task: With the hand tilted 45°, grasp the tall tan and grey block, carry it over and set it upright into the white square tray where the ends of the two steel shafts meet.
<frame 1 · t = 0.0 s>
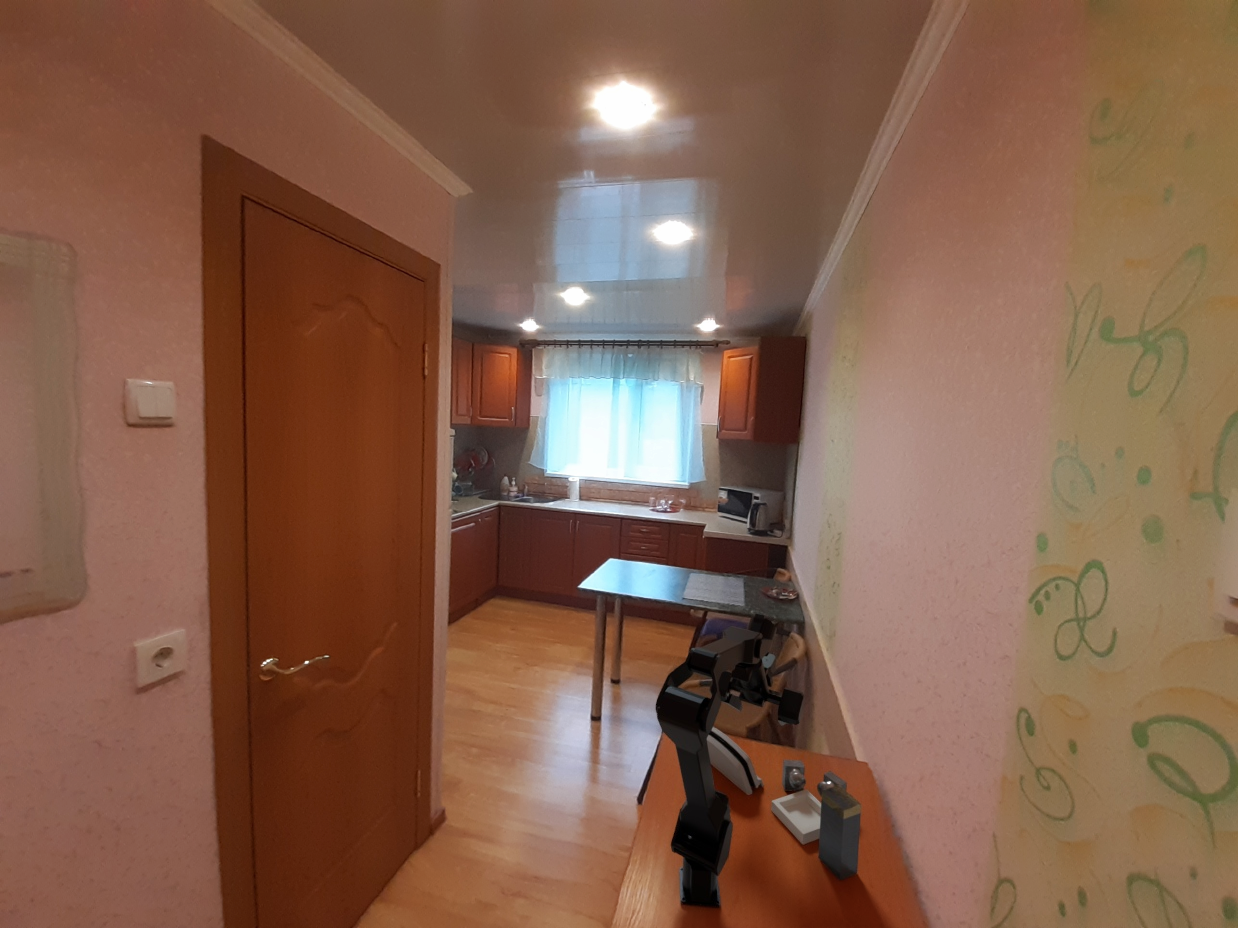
hand: (761, 716, 110), 15 cm above the table, tool tilted 35°, fingers open, 9 cm apart
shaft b: (793, 790, 109), on the table
white electronic device: (724, 771, 115), on the table
white square tray: (804, 820, 101), on the table
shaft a: (830, 805, 105), on the table
tan and grey block: (837, 865, 91), on the table
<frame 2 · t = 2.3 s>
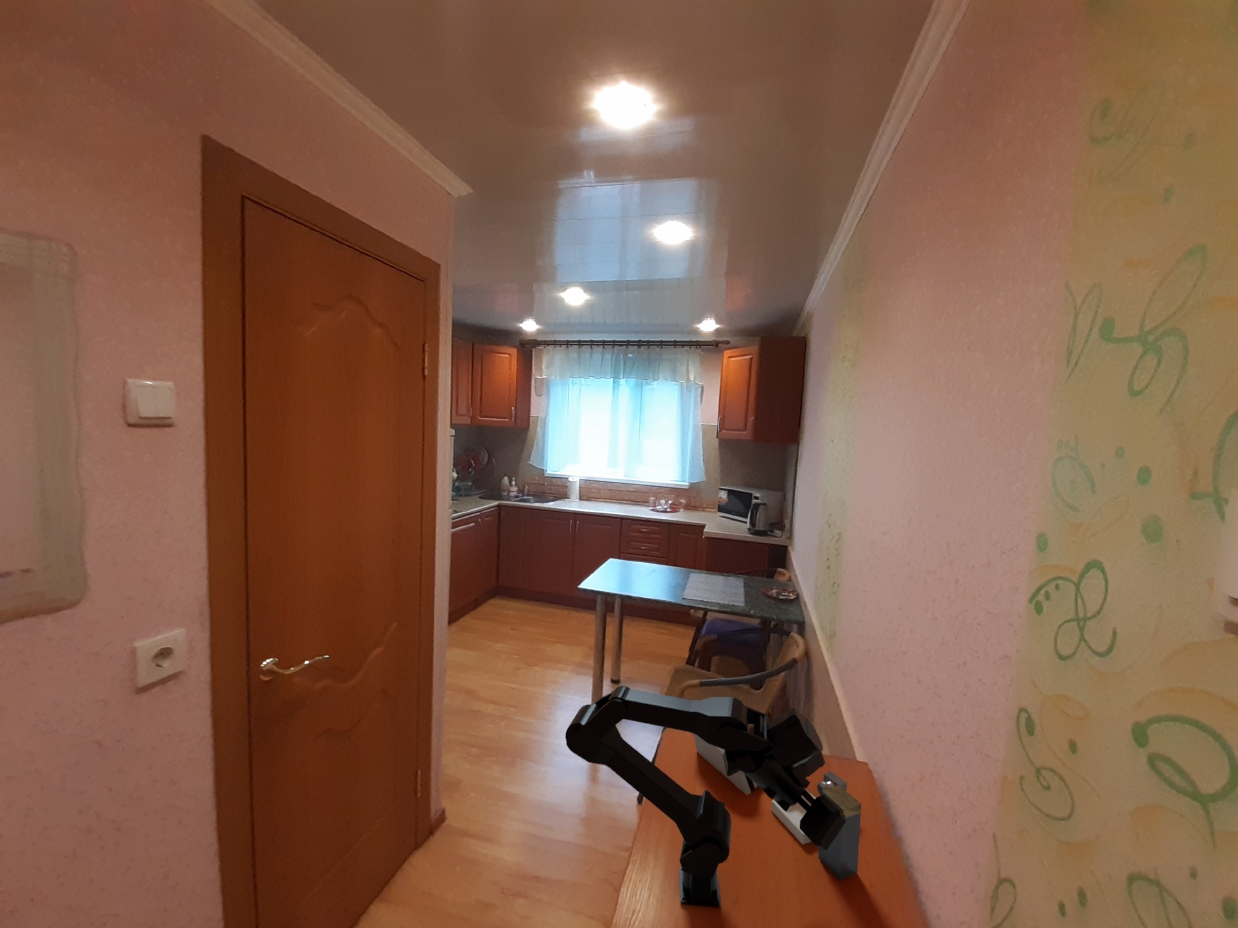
hand: (816, 813, 87), 12 cm above the table, tool tilted 45°, fingers open, 9 cm apart
nothing on the table moved.
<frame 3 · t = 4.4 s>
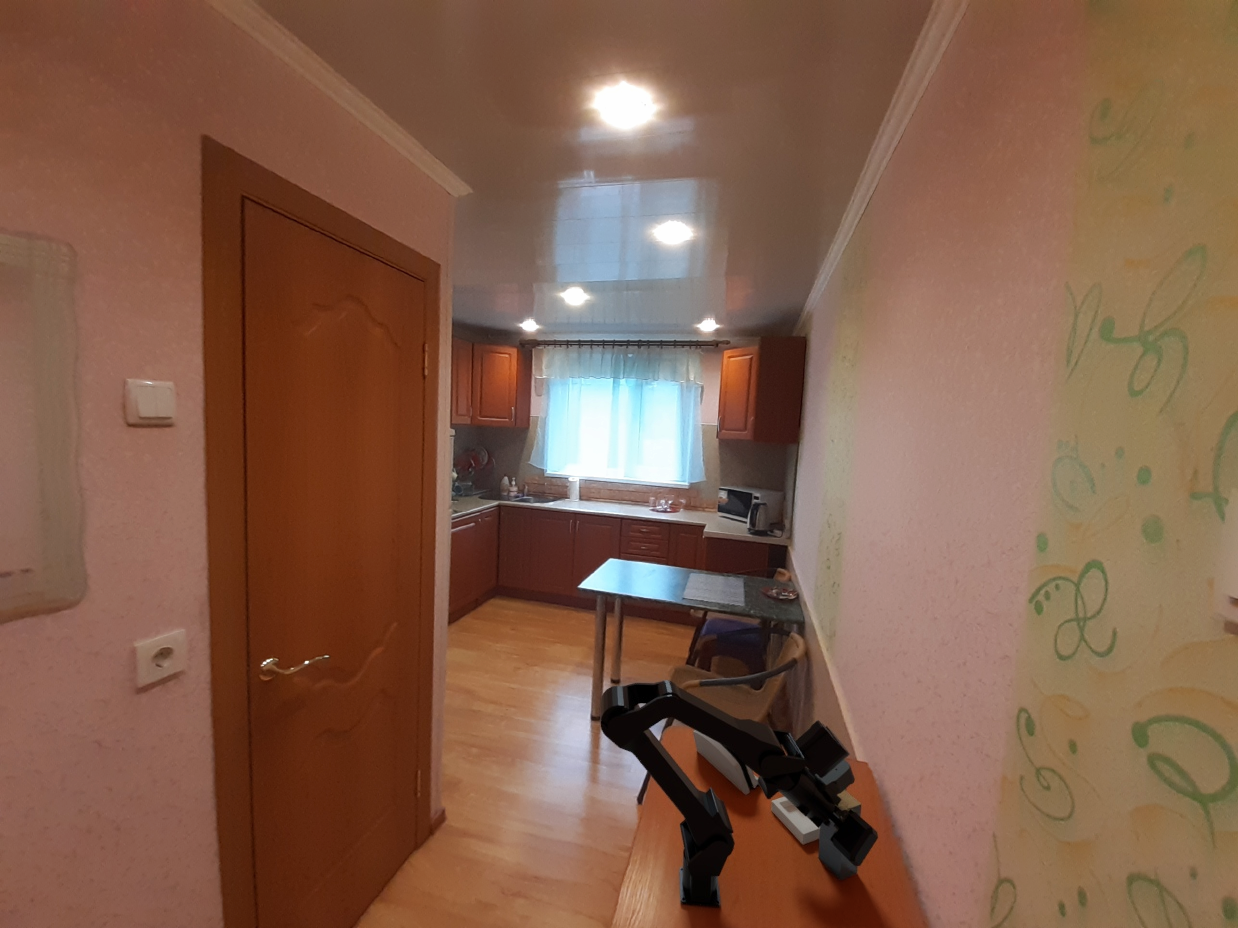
hand: (845, 828, 91), 7 cm above the table, tool tilted 45°, fingers closed on tan and grey block, 5 cm apart
tan and grey block: (837, 865, 91), on the table, touching gripper
everything else where it was.
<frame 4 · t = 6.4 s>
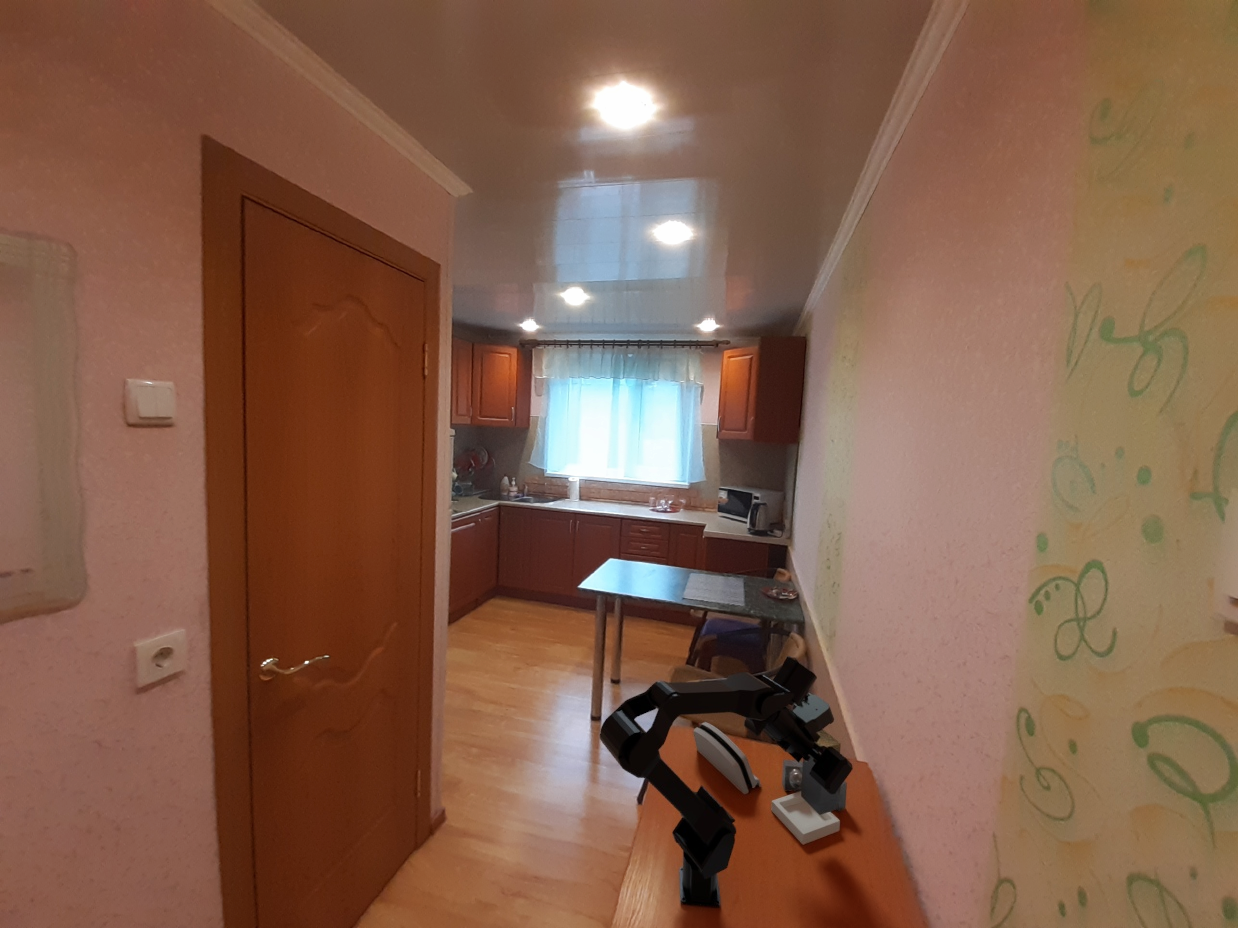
hand: (826, 767, 96), 14 cm above the table, tool tilted 45°, fingers closed on tan and grey block, 5 cm apart
tan and grey block: (818, 802, 96), point 7 cm above the table, touching gripper
everything else where it was.
when the fingers open (8 cm above the table, at t = 8.3 s): tan and grey block stays where it is, resting on white square tray.
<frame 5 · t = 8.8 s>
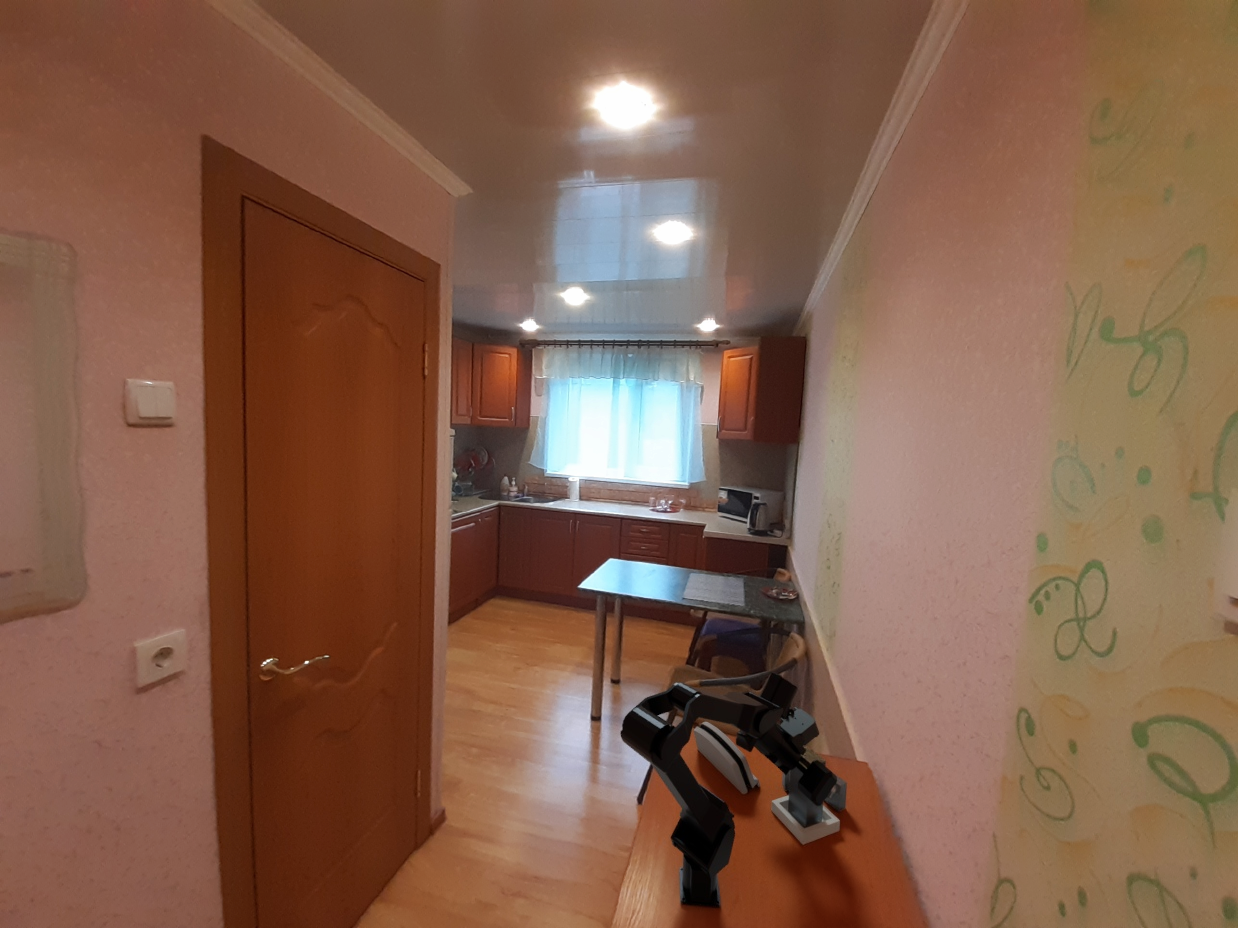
hand: (811, 778, 101), 8 cm above the table, tool tilted 45°, fingers open, 9 cm apart
tan and grey block: (804, 817, 101), point 1 cm above the table, touching white square tray
everything else where it was.
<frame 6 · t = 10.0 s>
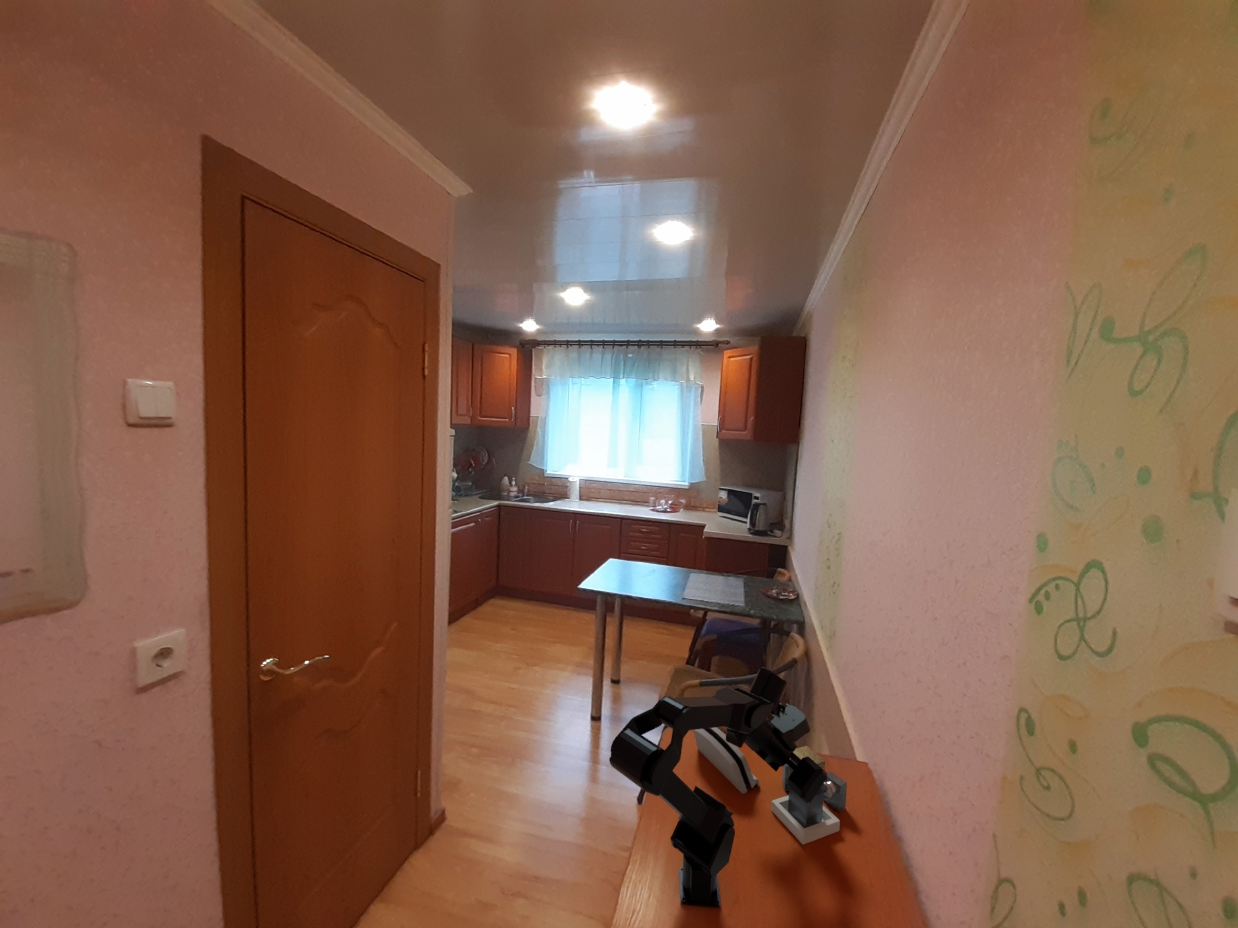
hand: (803, 775, 99), 10 cm above the table, tool tilted 45°, fingers open, 9 cm apart
nothing on the table moved.
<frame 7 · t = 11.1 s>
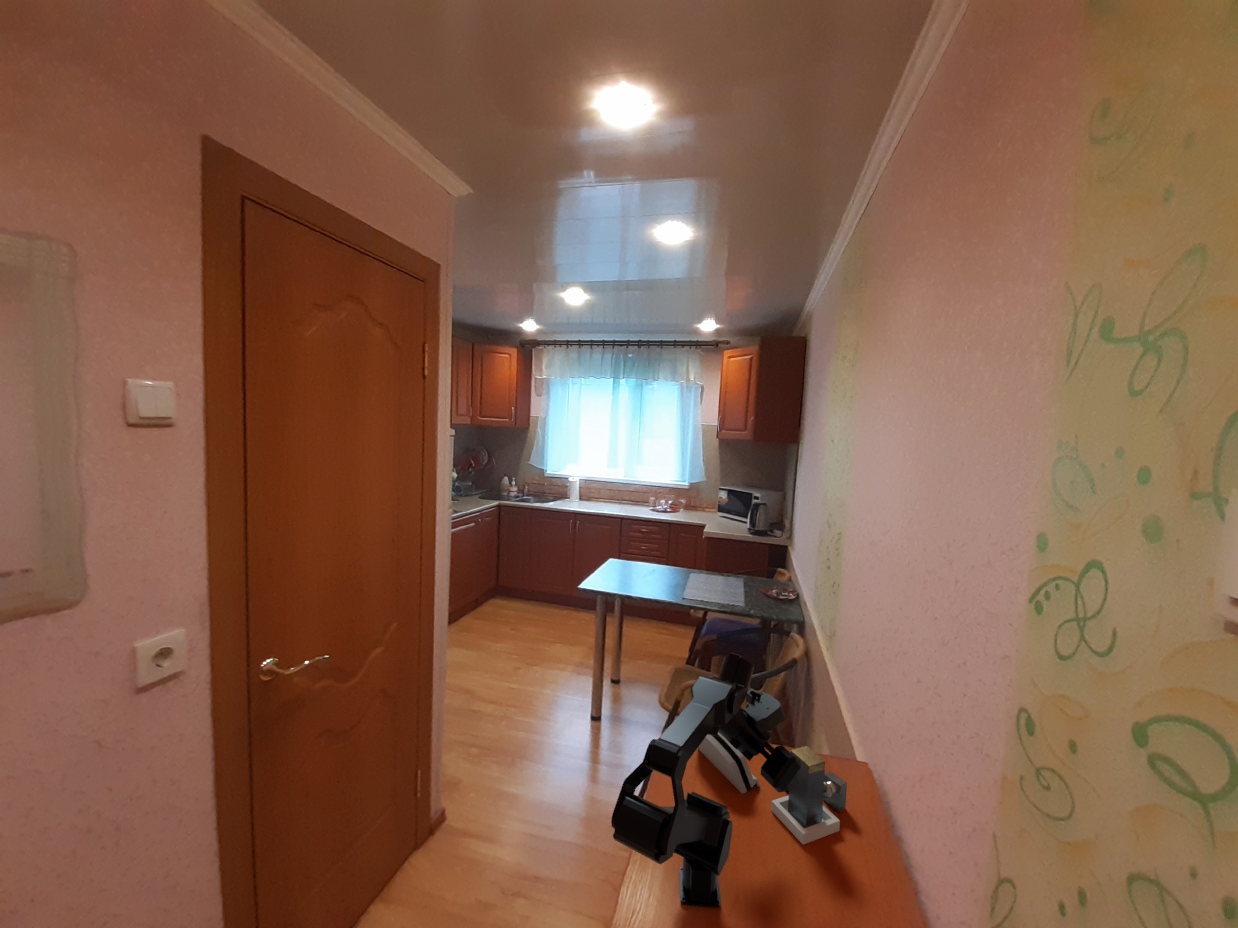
hand: (779, 765, 97), 13 cm above the table, tool tilted 45°, fingers open, 9 cm apart
nothing on the table moved.
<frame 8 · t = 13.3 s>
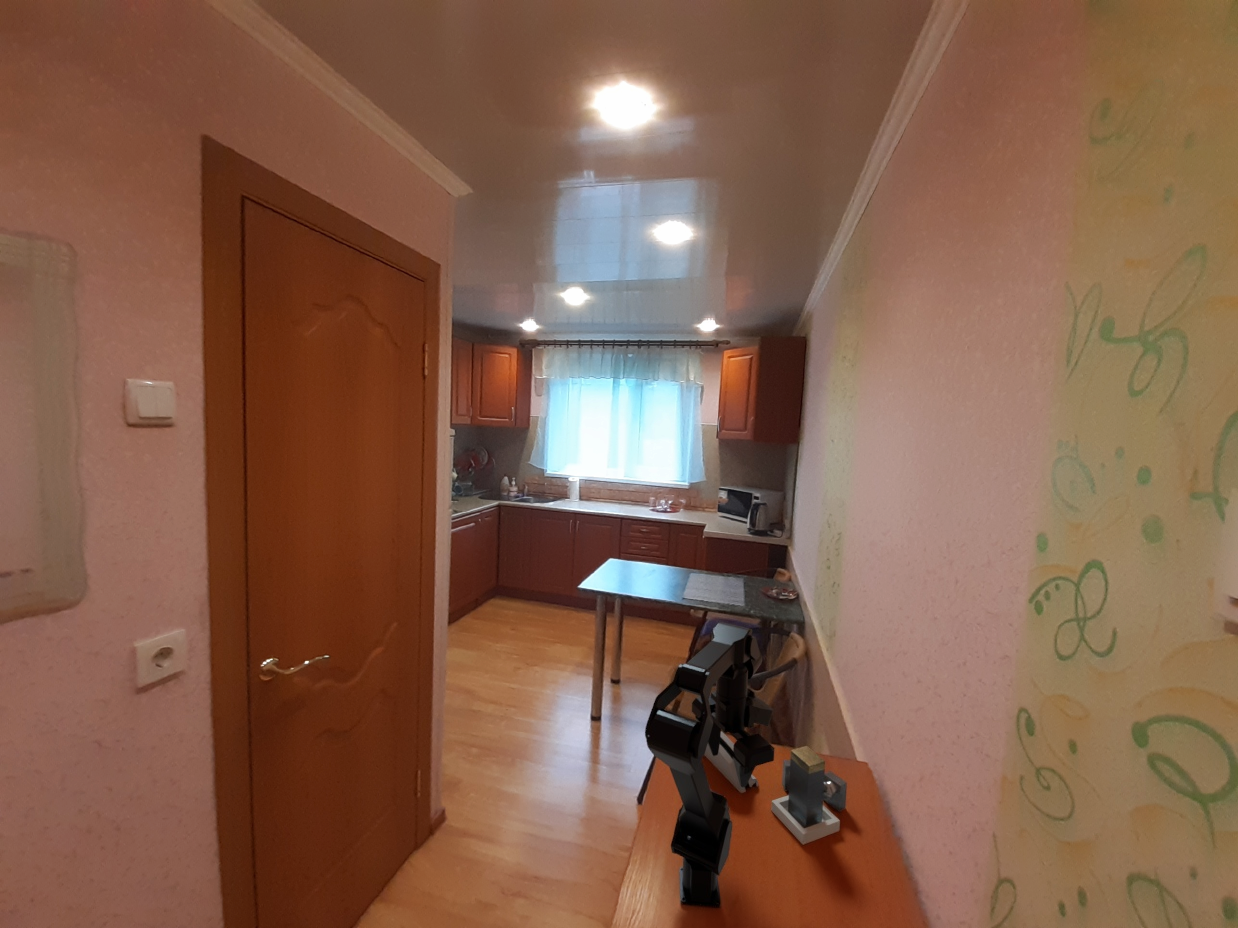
hand: (728, 769, 96), 13 cm above the table, tool pointing down, fingers open, 9 cm apart
at the end: tan and grey block 0.0 cm off-centre on the white square tray, point 0.6 cm above the white square tray's base; tan and grey block tilted 0°; the gripper is holding nothing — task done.
